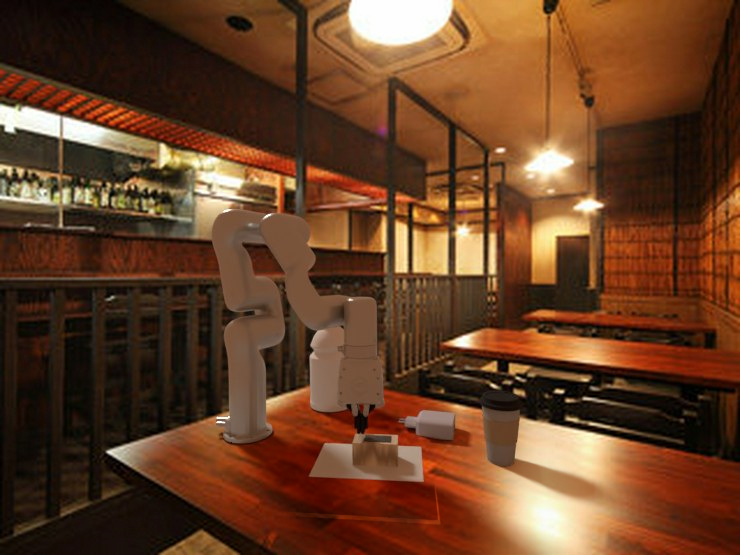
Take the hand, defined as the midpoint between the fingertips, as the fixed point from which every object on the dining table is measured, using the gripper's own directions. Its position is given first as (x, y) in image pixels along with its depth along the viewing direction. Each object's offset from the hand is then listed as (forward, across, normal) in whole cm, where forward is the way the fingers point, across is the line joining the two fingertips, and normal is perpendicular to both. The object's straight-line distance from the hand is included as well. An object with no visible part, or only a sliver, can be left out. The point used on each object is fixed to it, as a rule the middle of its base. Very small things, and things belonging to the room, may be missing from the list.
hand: (361, 431), depth 90 cm
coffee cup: (+8, +32, +4) cm, 33 cm away
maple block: (+4, -2, 0) cm, 4 cm away
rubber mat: (+7, +2, 0) cm, 7 cm away
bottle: (+7, -14, +37) cm, 40 cm away
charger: (+8, +15, +19) cm, 26 cm away
